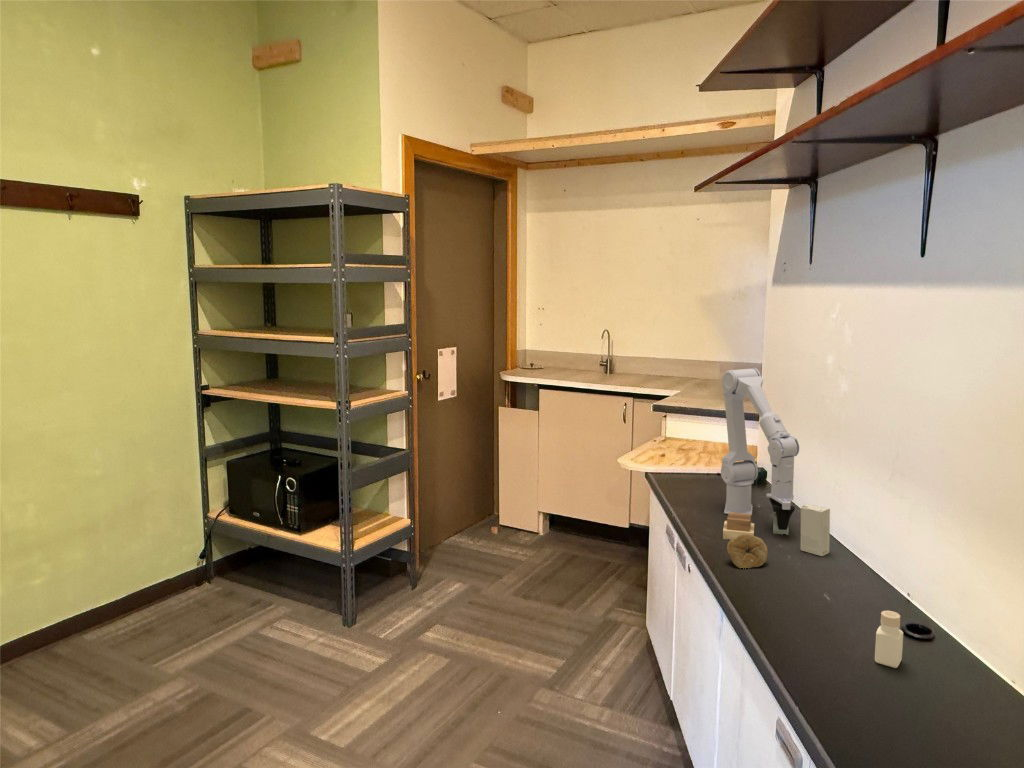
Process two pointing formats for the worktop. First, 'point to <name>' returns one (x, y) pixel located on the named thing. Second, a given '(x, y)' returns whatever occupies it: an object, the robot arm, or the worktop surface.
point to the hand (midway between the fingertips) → (780, 526)
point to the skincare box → (815, 529)
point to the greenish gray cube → (775, 527)
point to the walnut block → (739, 521)
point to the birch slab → (735, 532)
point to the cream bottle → (889, 640)
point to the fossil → (747, 551)
